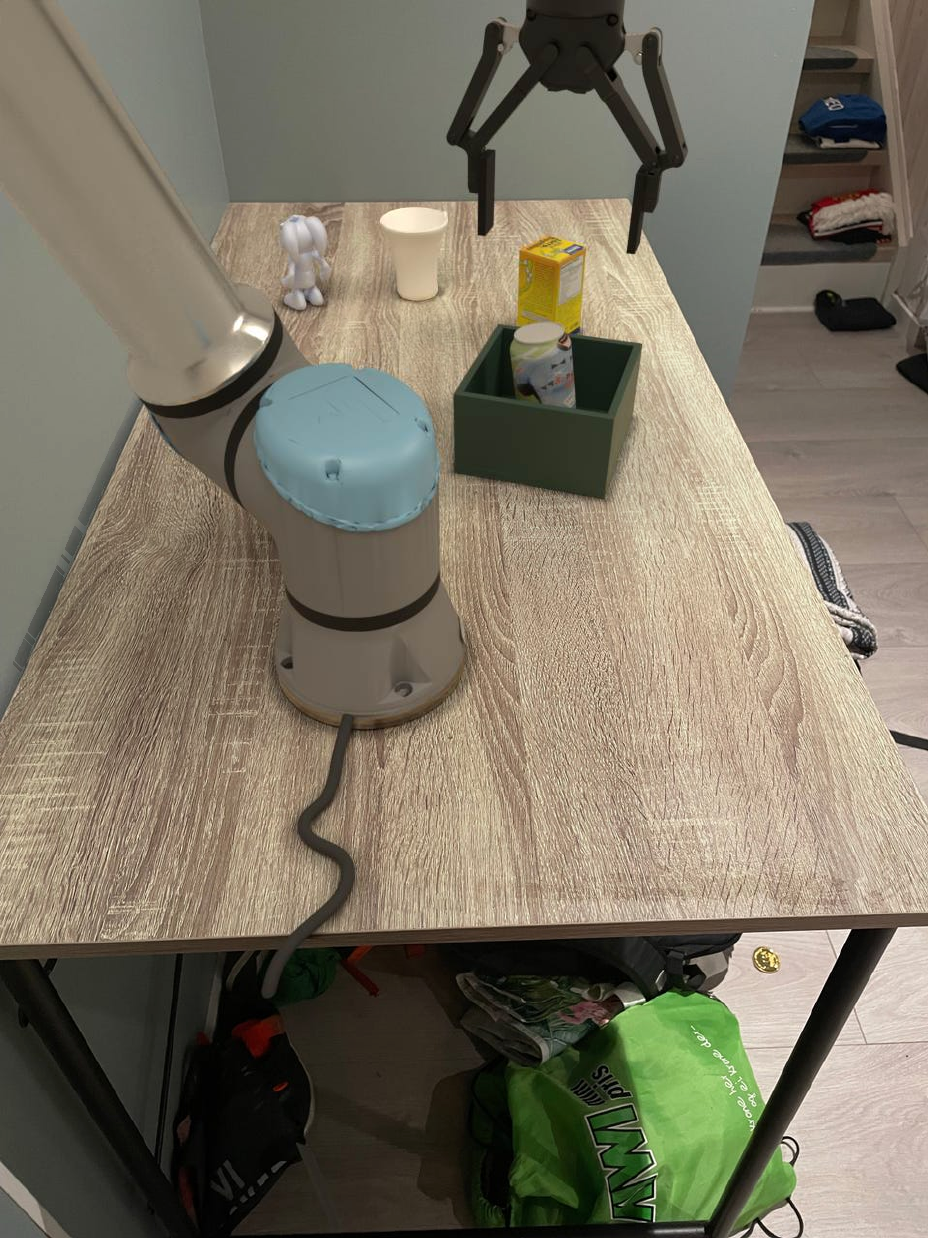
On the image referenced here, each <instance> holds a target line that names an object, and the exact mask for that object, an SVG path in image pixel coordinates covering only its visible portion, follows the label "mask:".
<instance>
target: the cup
mask: <svg viewBox="0 0 928 1238" xmlns="http://www.w3.org/2000/svg"><path fill="white" fill-rule="evenodd" d="M448 218H449V213H448V211H446V210H443V211H441V210H438V209H434V208H431V207H420V206H417V207H416V206H410V207H409V206H408V207H401V208H395V209H393V210H390V211H387V212H386V213H384V214H382V216H381V217H380V219H379V226H380V228H381V230H382V232H383V234H384V236H385V237H386V240H387V242H388V245H389V249H390V254H391V256H392V260H393V263H394V270H395V275H396V283H397V284H396V285H397V287H396V288H397V293H398V295H399V296H400V297H401V298H402V299H404V300H407V301H410V302H411V301H412V302H415V301H416V302H420V301H426V300H430V299H433V298H434V297H436V296H437V293H438V292H439V284H438V269H439V266H438V265H439V264H438V263H439V254H440V250H441V244H442V240H443V237H444V235H445V232H446V229H447V228H448V225H449V219H448Z"/></svg>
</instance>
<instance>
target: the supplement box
mask: <svg viewBox="0 0 928 1238" xmlns="http://www.w3.org/2000/svg"><path fill="white" fill-rule="evenodd" d="M518 251H519V252H518V254H519V255H518V281H517V282H518V283H517V285H518V286H517V315H516V316H517V318H516V326H519V327H522V326H525V325H527V324H530V323H535V322H543V321H548V322H556V323H559V324H561V325H562V326H563V327H564V332H565V333H570V334H577V333H579V332H580V330H581V329H580V328H581V317H582V305H583V304H582V303H583V291H584V281H585V280H584V279H585V266H586V256H587V255H586V253H587V246H586V245H584V244H581V243H577V242H575V241H570V240H567V239H563V238H560V237H557V236H554V235H549V234H547V235H545V236H543V237H541V238H539V239H538V240H537V239H536V241H533V242H532V243H530V244H528V245H526V246H523V247H522V248H519V250H518Z"/></svg>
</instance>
